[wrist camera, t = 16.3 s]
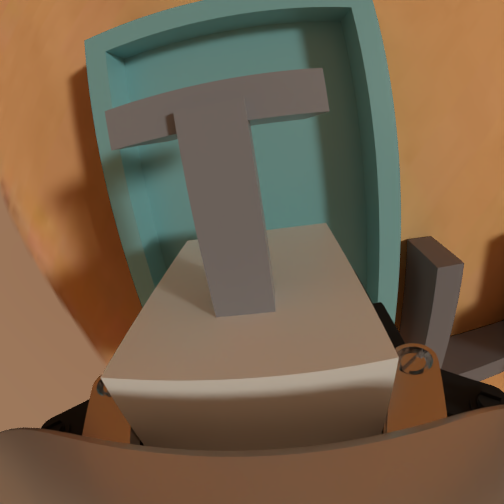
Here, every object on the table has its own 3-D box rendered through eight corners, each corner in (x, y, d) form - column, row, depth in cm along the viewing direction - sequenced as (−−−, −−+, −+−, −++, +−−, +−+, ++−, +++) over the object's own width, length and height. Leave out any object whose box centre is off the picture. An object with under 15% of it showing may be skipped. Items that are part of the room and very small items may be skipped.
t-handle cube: (163, 120, 10) (14, 123, 3) (311, 96, 9) (392, 36, 3) (219, 365, 13) (193, 505, 7) (331, 354, 13) (360, 496, 6)
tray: (109, 50, 12) (84, 40, 9) (353, 8, 10) (368, -12, 8) (182, 356, 18) (173, 383, 16) (377, 335, 17) (389, 362, 15)
